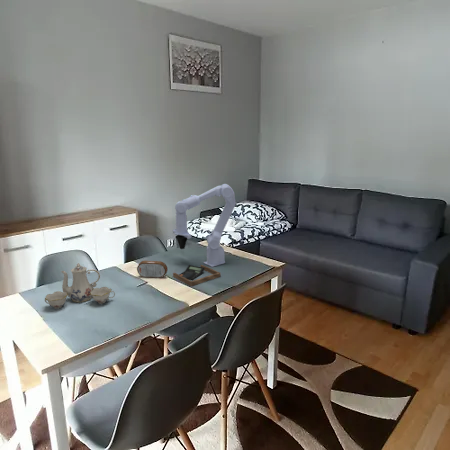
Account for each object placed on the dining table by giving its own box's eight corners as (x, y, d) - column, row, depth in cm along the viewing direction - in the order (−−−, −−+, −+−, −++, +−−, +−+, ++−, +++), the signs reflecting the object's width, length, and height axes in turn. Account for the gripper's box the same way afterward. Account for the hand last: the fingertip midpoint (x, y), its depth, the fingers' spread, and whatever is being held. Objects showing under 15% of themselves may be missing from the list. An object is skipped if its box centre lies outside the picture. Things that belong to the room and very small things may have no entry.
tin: (168, 276, 185) (167, 260, 183) (166, 279, 182) (165, 262, 180) (138, 275, 187) (137, 259, 184) (136, 278, 184) (135, 262, 181)
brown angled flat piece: (202, 268, 196) (201, 264, 195) (220, 276, 184) (220, 272, 184) (173, 276, 185) (173, 273, 184) (191, 286, 173) (190, 282, 173)
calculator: (176, 277, 184) (176, 272, 184) (189, 269, 194) (189, 264, 194) (192, 281, 180) (192, 275, 179) (204, 272, 190) (204, 267, 189)
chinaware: (43, 318, 148) (37, 281, 142) (47, 297, 163) (42, 263, 157) (116, 307, 157) (113, 272, 151) (113, 288, 172) (110, 255, 166)
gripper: (167, 222, 198) (168, 247, 201) (182, 228, 187) (183, 253, 190) (178, 220, 202) (179, 244, 205) (194, 225, 191) (194, 250, 195)
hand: (182, 248), depth 198 cm, fingers closed
